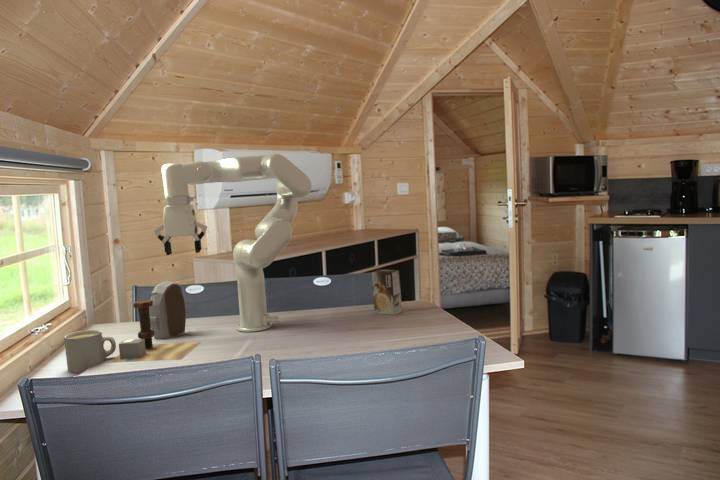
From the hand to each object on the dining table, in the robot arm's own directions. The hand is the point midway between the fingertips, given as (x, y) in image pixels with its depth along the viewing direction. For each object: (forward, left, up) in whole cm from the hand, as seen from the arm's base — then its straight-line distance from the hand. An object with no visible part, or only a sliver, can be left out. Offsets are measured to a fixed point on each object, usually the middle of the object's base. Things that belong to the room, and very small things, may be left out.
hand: (183, 253), depth 193 cm
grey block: (+11, +20, -28) cm, 36 cm away
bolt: (+10, +12, -28) cm, 32 cm away
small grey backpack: (+10, -5, -30) cm, 32 cm away
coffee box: (-66, -28, -30) cm, 78 cm away
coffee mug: (+22, +24, -30) cm, 44 cm away
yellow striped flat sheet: (+5, +17, -30) cm, 34 cm away
